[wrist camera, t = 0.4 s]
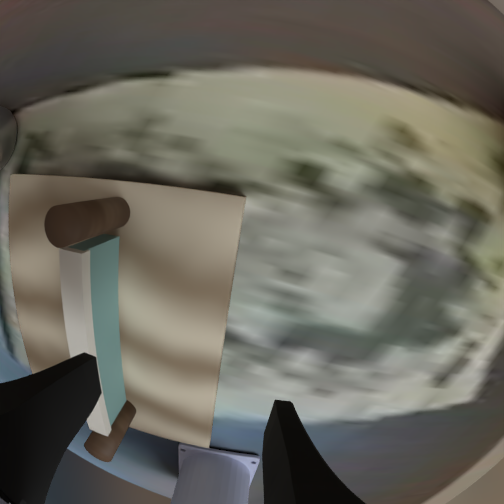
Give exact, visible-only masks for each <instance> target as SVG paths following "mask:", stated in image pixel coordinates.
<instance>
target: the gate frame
mask: <svg viewBox="0 0 504 504" xmlns="http://www.w3.org/2000/svg"><path fill="white" fill-rule="evenodd" d="M245 202H246V197H245V196H238V195H232V194H225V193H219V192H212V191H205V190H198V189H191V188H183V187H175V186H167V185H159V184H150V183H141V182H131V181H121V180H111V179H99V178H87V177H73V176H57V175H37V174H11V177H10V191H9V248H10V262H11V273H12V282H13V289H14V296H15V302H16V308H17V314H18V319H19V324H20V329H21V333H22V337H23V342H24V346H25V349H26V353H27V357H28V360H29V364H30V367H31V370H32V374H34V373H37V372H39V371H42V370H45V369H47V368H49V367H52V366H54V365H56V364H58V363H61V362H63V361H65V360H67V359H69V358H71V357H70V352H69V347H68V341H67V335H66V328H65V321H64V313H63V304H62V294H61V282H60V264H59V248H64V247H66V246H71V245H74V244H77V243H80V242H82V241H85V240H88V239H90V238H93V237H96V236H99V235H102V234H109V235H114V236H120V238H119V262H118V307H119V332H120V347H121V359H122V369H123V378H124V387H125V394H126V402H125V404H124V405H123V407H122V409H121V410H120V412H119V414H118V415H117V417H116V419H115V420H114V422H113V424H112V425H111V432H110V434H109V435H108V437H107V436H105V435H102V434H100V433H97V432H95V431H92V433H91V434H90V436H89V437H88V439H87V440H86V442H85V444H84V447H85V448H86V450H87V451H88V452H89V453H90V454H91V455H93V456H94V457H96V458H97V459H99V460H101V461H105V462H110V461H111V460H112V458H113V456H114V454H115V452H116V450H117V448H118V447H119V445H120V443H121V441H122V439H123V437H124V435H125V433H126V431H127V429H128V427H131V428H134V429H137V430H140V431H143V432H146V433H149V434H152V435H156V436H159V437H163V438H166V439H170V440H174V441H178V442H182V443H186V444H191V445H195V446H200V447H205V448H209V445H210V440H211V432H212V425H213V417H214V409H215V402H216V395H217V387H218V380H219V373H220V366H221V359H222V352H223V345H224V338H225V331H226V324H227V317H228V311H229V304H230V297H231V291H232V284H233V277H234V271H235V264H236V258H237V252H238V245H239V239H240V233H241V226H242V220H243V214H244V208H245Z"/></svg>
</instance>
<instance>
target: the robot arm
mask: <svg viewBox="0 0 504 504" xmlns="http://www.w3.org/2000/svg"><path fill="white" fill-rule="evenodd" d="M101 393H102V391H101V385H100V379H99V373H98V366H97V359H96V357H95V356H93V355H90V354H88V353H85V352H84V353H81V354H79V355H76V356H74V357H72V358H69V359H67V360H65V361H63V362H61V363H58V364H56V365H54V366H52V367H49V368H47V369H45V370H42V371H39V372H37V373H34V374H31V375H29V376H26V377H23V378H20V379H17V380H13V381H9V382H5V383H0V504H9V502H10V503H11V504H44V503H45V500H46V496H47V492H48V490H49V487H50V484H51V481H52V479H53V476H54V474H55V471H56V469H57V467H58V465H59V463H60V461H61V458H62V456H63V454H64V452H65V451H66V449H67V447H68V446H69V444H70V443H71V441H72V440H73V438H74V437H75V435H76V434H77V433H78V431H79V430H80V428H81V427H82V426H83V424H84V423H85V421H86V420H87V418H88V417H89V416H90V414H91V413H92V411H93V409H94V407H95V406H96V404H97V402H98V400H99V397H100V395H101ZM178 457H179V476H178V480H177V483H176V487H175V490H174V494H173V497H172V500H171V504H248V496H249V486H250V484H251V481H252V479H253V476H254V474H255V471H256V469H257V466H258V464H259V461H260V457H259V456H257V455H250V454H243V453H236V452H229V451H223V450H217V449H212V448H205V447H200V446H195V445H191V444H186V443H182V442H181V443H179V446H178ZM262 461H263V484H264V504H365V503H364V502H363V501H362V500H361V499H360V498H358V497H357V496H356V495H355V494H354V493H353V492H352V491H350V490H349V489H348V488H347V487H346V486H345V484H344V483H343V482H342V481H341V480H340V479H339V478H338V477H337V476H336V475H335V473H334V472H333V471H332V470H331V469H330V467H329V466H328V465H327V463H326V462H325V461H324V459H323V458H322V456H321V455H320V453H319V452H318V450H317V449H316V447H315V446H314V444H313V442H312V441H311V439H310V437H309V436H308V434H307V432H306V430H305V428H304V427H303V425H302V423H301V421H300V419H299V417H298V414H297V412H296V410H295V408H294V405H293V403H292V402H291V401H281V400H275V401H274V404H273V407H272V411H271V414H270V417H269V420H268V423H267V426H266V429H265V432H264V440H263V452H262Z"/></svg>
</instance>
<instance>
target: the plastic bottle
mask: <svg viewBox="0 0 504 504" xmlns="http://www.w3.org/2000/svg"><path fill="white" fill-rule="evenodd" d="M16 138H17V124H16V120H15V118H14V116H13V114H12V113H11V111H10V110H9V109H6V108H4V107H2V106H0V170H1V169H2V168H3V167H4V166H5V165H6V164H7V162H8V161H9V159H10V157H11V155H12V153H13V150H14V147H15V143H16Z"/></svg>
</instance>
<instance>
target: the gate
mask: <svg viewBox="0 0 504 504" xmlns="http://www.w3.org/2000/svg"><path fill="white" fill-rule="evenodd" d="M119 238H120V236H114V235H109V234H102V235H99V236H96V237H93V238H90V239H88V240H85V241H82V242H80V243H77V244H74V245H71V246H66V247H64V248H59V264H60V282H61V294H62V304H63V313H64V321H65V328H66V335H67V341H68V347H69V352H70V357H71V358H72V357H74V356H76V355H79V354H81V353H84V352H85V353H88V354H90V355H93V356H95V357H96V359H97V366H98V373H99V379H100V385H101V391H102V393H101V395H100V397H99V400H98V402H97V404H96V406H95V407H94V409H93V411H92V413H91V414H90V416H89V417H88V418H87V423H88V426H89V429H91V430H93V431H95V432H97V433H100V434H102V435H105V436H107V437H108V435H109V434H110V432H111V425H112V424H113V422H114V420H115V419H116V417H117V415H118V414H119V412H120V410H121V409H122V407H123V405H124V404H125V402H126V394H125V387H124V378H123V369H122V359H121V347H120V332H119V307H118V262H119Z"/></svg>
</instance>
